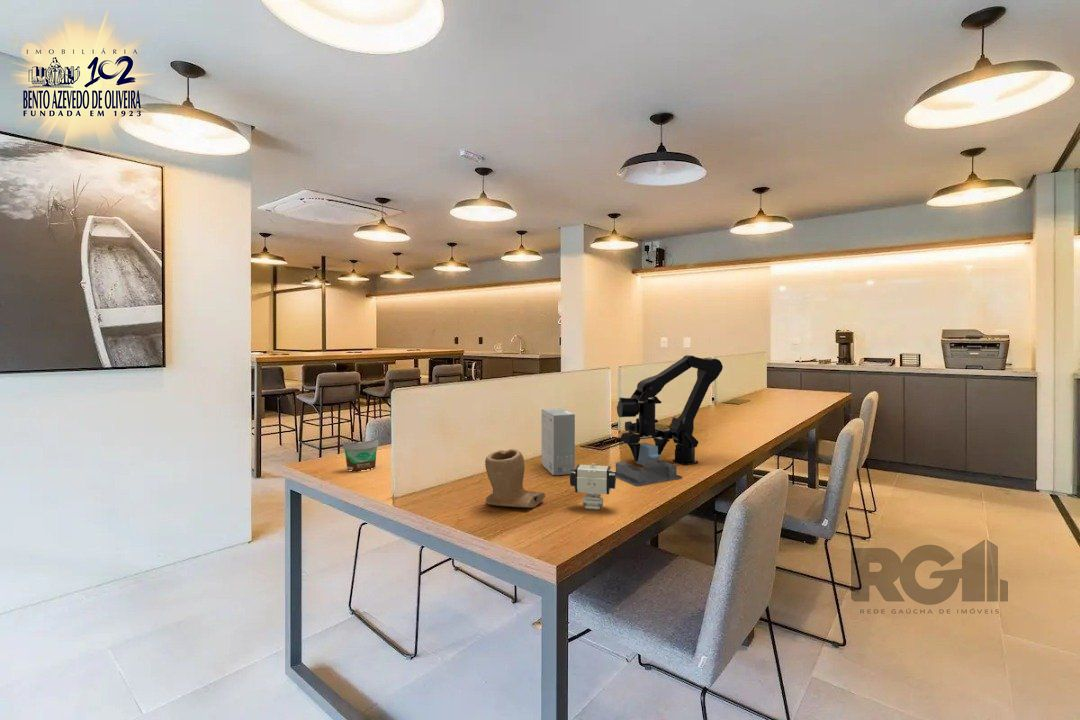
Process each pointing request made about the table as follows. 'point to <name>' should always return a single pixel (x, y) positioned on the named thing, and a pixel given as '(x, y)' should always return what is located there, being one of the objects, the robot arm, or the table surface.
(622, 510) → the table surface
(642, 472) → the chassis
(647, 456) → the block
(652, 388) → the robot arm
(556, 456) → the hard drive box
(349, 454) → the food container
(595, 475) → the pneumatic valve
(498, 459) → the brown hollow cup shape
